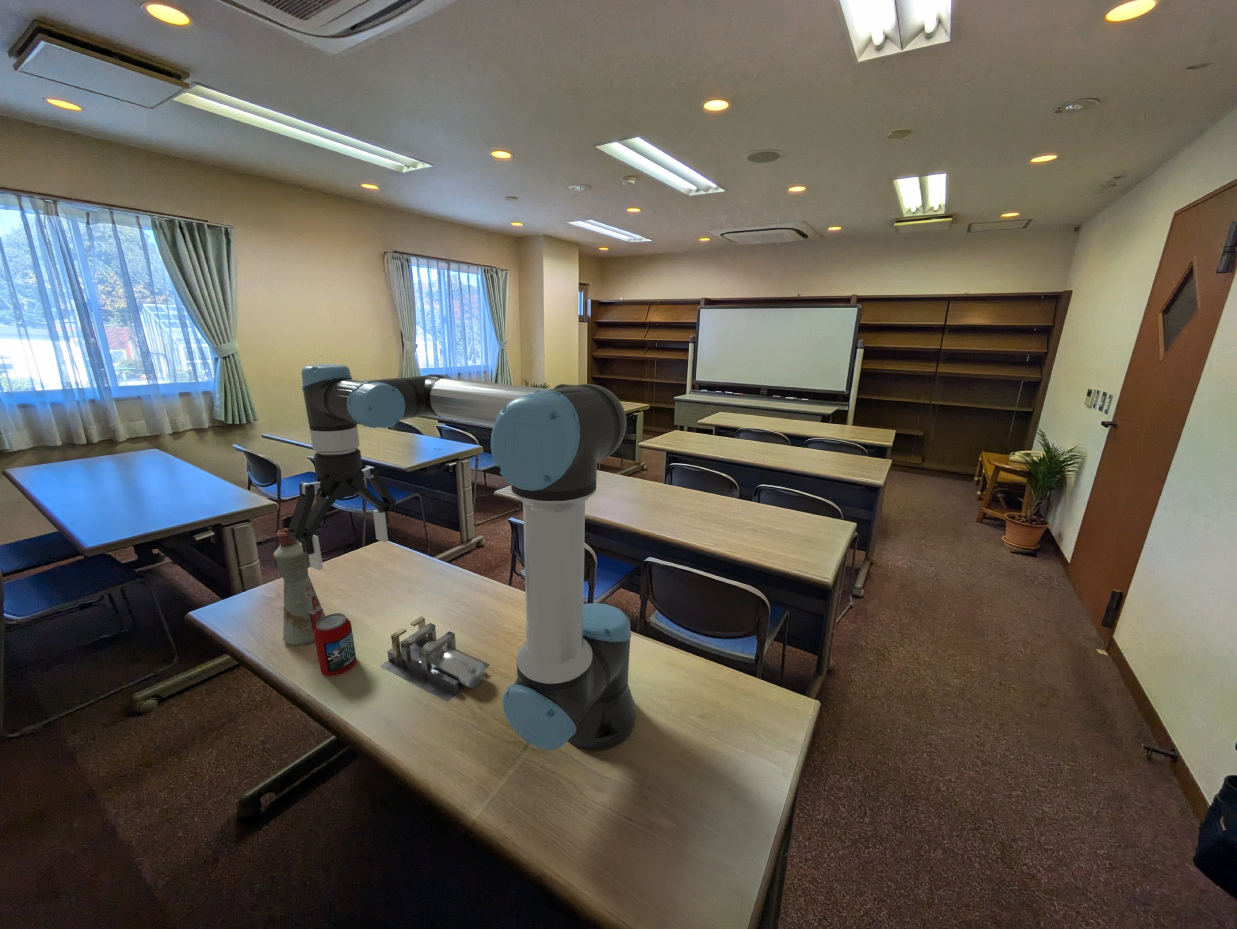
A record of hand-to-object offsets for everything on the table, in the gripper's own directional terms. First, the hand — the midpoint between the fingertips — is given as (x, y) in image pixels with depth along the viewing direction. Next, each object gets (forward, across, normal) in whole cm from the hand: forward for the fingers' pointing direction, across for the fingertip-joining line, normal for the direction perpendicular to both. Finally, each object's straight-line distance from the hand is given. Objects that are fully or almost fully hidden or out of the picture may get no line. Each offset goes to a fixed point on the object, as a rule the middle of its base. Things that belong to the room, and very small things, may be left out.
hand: (351, 553), depth 92 cm
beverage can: (+28, +3, -6) cm, 29 cm away
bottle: (+28, 0, -23) cm, 36 cm away
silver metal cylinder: (+27, -7, +17) cm, 33 cm away
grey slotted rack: (+28, -7, +12) cm, 31 cm away
